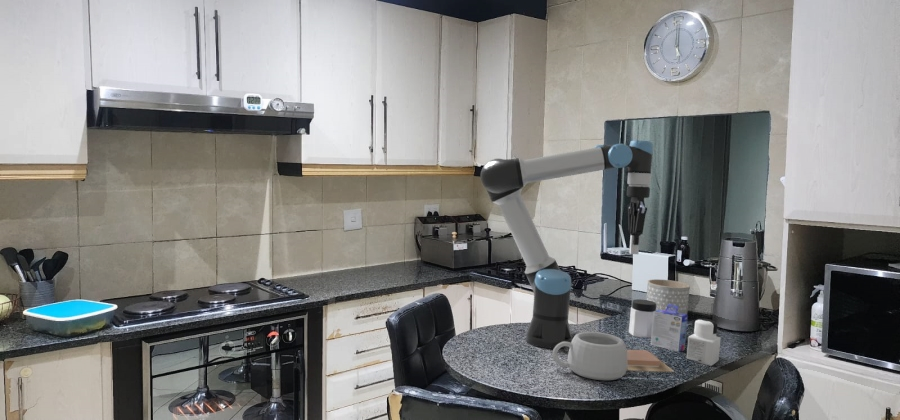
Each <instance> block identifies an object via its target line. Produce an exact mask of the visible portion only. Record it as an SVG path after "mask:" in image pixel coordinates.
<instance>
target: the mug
mask: <svg viewBox="0 0 900 420" xmlns="http://www.w3.org/2000/svg"><path fill="white" fill-rule="evenodd" d="M563 346H567V347H568V348H569V350H568V353H567V354H568V355H567V361H563V360H561V359H560V358H559V356H558V352H559V350H560V349H562V348H561V347H563ZM567 347H566V348H567ZM563 348H564V347H563ZM627 350H628V349H627V345H626V344H625V341H624V340H623V339H622V338H620V337H618V336H616V335H613V334H609V333H606V332H599V331H598V332H597V331H583V332H579V333H575V335H574V337H572V342H571V343H570V342H561V343H559V344H557V345H556V346H555V348H554V349H553V348H552V359H553V361H554V362H555V363H556V364H557V365H559V366H561V367H565V368H569V369H571V371H572V372H573V373H574V374H576V375H578V376H581V377H583V378H587V379H589V380H591V379H592V380H596V381H597V380H598V381H614V380H619V379H621V378H622V377H623V376H625V375H626V373H627V371H628V370H627V367H628V359H627Z"/></svg>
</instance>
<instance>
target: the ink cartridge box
mask: <svg viewBox="0 0 900 420" xmlns="http://www.w3.org/2000/svg"><path fill="white" fill-rule="evenodd" d="M669 307H674V308H676V310H673V309H669ZM677 310H678V306H675V305H671V304H668V306H667V308H666V310H661V309H659V310H656V311H654V316H653V326H652V336H651V338H650V345H651V346H655V347H659V348H663V349H667V350H671V351H675V352H683V351H685V347H686V337H687V330H688V329H687V328H688V318H689V315H688V313H687V314H682V313H677Z"/></svg>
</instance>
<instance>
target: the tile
mask: <svg viewBox="0 0 900 420" xmlns="http://www.w3.org/2000/svg"><path fill="white" fill-rule="evenodd" d="M649 352H650V351H648V350H647V349H646V350H645V349H627V359H628V366H648V367H659V364H660V361H659V360H660V359H659V358H658V357H657V358H658V359H659V360H658V359H657V358H655V357H654V356H655V355H654V354H653V353H652V354H653V355H654V356H653V355H652V354H650V353H651V352H650V353H649Z"/></svg>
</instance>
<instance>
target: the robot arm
mask: <svg viewBox="0 0 900 420" xmlns="http://www.w3.org/2000/svg"><path fill="white" fill-rule="evenodd" d="M653 146H654V144H653V142H652V141H650V140H636V139H635V140H630V142H629V145H626V144H624V143H622V142H621V143H620V142H618V143H615V144H597V145H595V146H594V147H593V148H587V149H581V150H576V151H570V152H564V153H558V154H553V155H547V156H541V157H536V158H529V159H522V158H520V157H517V158H508V159H506V158H494V159H490V160H489V161H487V162H486V163H485V164H484V165H483V167H482V169H481V171H480V182H481V184H482V186H483V188H485V191H486V193H487V195H488V196H489V199H490V201H491V203H493V204H495V205H497V206H498V208H499V210H500V212H501V215H502V217H503V219H504V221H505V223H506V225H507V227H508V230H509V231H510V233H511V235H512V238H513V239H514V242H515V244H516V246H517V249H518V250H519V254H520V255H521V257H522V260H523V261H524V264H525V266H526V267H525V271H524V274H525V275H526V278H527V280H528V282H529V284H530V286H531V289H532V291H533V292H532V293H533V304H532V305H533V306H532V307H533V309H532V318H531V320H530V323H529V325H528V328H527V331H526V333H525V341H526V342H527V343H529V344H530V345H532V346H535V347H540V348H544V349H545V348H546V349H552V350H553V349H554V348H555V346H556V345H557V344H559V343H561V342H570V343H571V342H572V339H573V336H572V332H571V327H570V325H569V324H570V323H569V315H570V314H569V313H570V312H569V311H570V300H571V299H570V298H571V289H572V277H571V275H570V273H567V272H566V271H564V270H561V269H560V266H559V265H558V263H557V260H556V258H554V257H553V256H550V255H549V254H548V251H547V249H546V247H545V245H544V243H543V240H542V238H541V236H540V234H539V232H538V230H537V228H536V225H535V223H534V221H533V218H532V217H531V214H530V213H529V210H528V208H527V206H526V204H525V201H524V200H523V197H522V192H523V191H522V190H523V188H525V186H526V185H527V184H529V183H536V182H541V181H547V180H553V179H557V178H565V177H571V176H577V175H581V174H588V173H589V174H590V173H592V172H594V173H595V172H599V171H604V170H605V171H606V170H613V169H622V168H624V169H625V168H626V169H628V173H627V188H626V196H627V197H628V198H631V199H630V203H629V204H627V218H628V219H627V220H628V221H627V222H628V225H627V226H628V227H627V228H628V231H627V232H628V233H629V234H630V237H629V238H630V239H629V253H628V254H630V255H639V253H640V252H639V250H640V236H641V235H643V234H644V233H643V232H644V227H645V221H646V216H647V215H646V214H647V212H648V207H645V206H646V203H645V199H649V198H650V194H651V193H650V192H651V188H650V185H651V180H652V179H653V177H652V163H653V156H654V155H653V153H654V151H653V150H654V148H653ZM564 348H567V346H563V347H561V348H560V349H564Z"/></svg>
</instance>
